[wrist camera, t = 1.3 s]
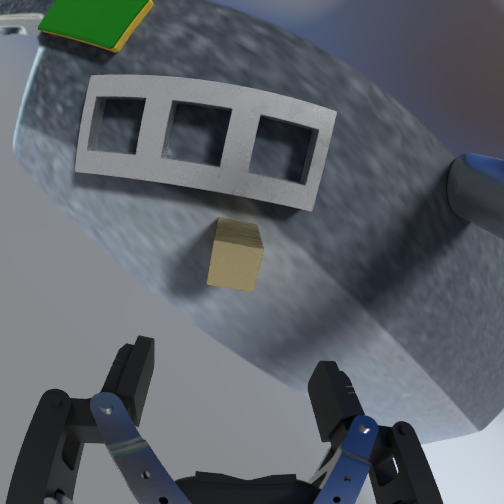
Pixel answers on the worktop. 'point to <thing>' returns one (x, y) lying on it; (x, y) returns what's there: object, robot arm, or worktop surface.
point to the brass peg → (235, 255)
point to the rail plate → (236, 145)
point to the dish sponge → (96, 20)
